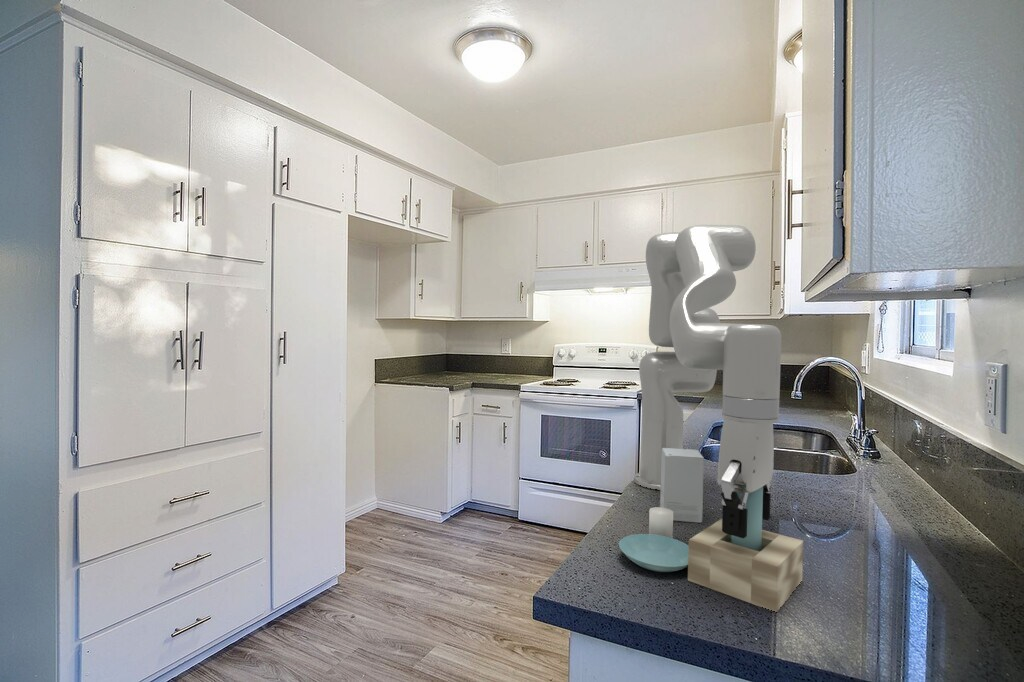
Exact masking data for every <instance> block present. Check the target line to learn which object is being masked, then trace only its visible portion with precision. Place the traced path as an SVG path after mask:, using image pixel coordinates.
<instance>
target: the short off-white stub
mask: <svg viewBox="0 0 1024 682" xmlns="http://www.w3.org/2000/svg"><path fill="white" fill-rule="evenodd" d="M648 513H649V517H648V522H649V523H648V534H654V535H660V536H666V537H669V538H673V539H674V537H673V536H674V535H673V533H674V520H673V511H672V510H670V509H667V508H662V507H660V506H659V507H658V506H655V507H651V508H649V512H648Z"/></svg>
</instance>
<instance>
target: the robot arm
mask: <svg viewBox="0 0 1024 682" xmlns="http://www.w3.org/2000/svg"><path fill="white" fill-rule="evenodd" d="M754 237H755V236H754V235H753V234H752V232H751V231H750V230H749V229H748V228H747V227H745V226H743V225H736V224H735V225H734V224H732V225H731V224H697V225H696V224H695V225H690V226H687V227H686V228H684V229H683V230H682V231H680V232H662V233H657V234H654V235H653V236H652V237H650V239H648V241H647V244H646V248H645V265H646V269H647V273H648V276H649V280H650V285H651V289H650V290H651V294H650V307H649V319H648V337H649V340H650V342H651V343H652V344H653V345H655V346H656V347H657V346H658V347H661V348H673V350H674V351H652V352H649V353H646V354H645V355H643V356H642V358H641V359H640V362H639V366H638V370H639V381H640V387H641V402H642V404H641V445H640V446H641V447H640V449H641V452H640V472H637V473H636V474H634V476H633V481H634V483H635V484H637V485H638V486H640V485H641V486H640V487H643V488H646V487H647V488H646V489H650V488H651V489H650V490H655V489H657V490H656V491H661V455H662V448H675V449H684V446H683V445H684V444H683V442H684V410H683V408H682V406H681V403H680V402H679V401H678V400H677V399H676V397H675V396H674V394H673V393H707V392H709V391H711V390H712V389H713V387H714V385H715V382H716V379H717V371H722V372H723V373H722V405H721V406H722V407H721V418H723V419H724V420H723V423H722V428H721V435H720V440H719V442H720V443H719V452H718V453H719V454H718V463H717V464H718V466H717V480H716V481H717V484H718V486H719V487H721V493H720V494H721V497H722V499H721V505H722V516H721V517H722V518H721V519H722V531H723V532H724V533H726V534H729V535H733V536H736V537H740V538H745V537H746V536H747V513H748V509H745V505H746V501H747V497H748V494H749V493H751V492H754V491H756V490H758V489H759V488H761V487H763V509H762V521H763V520H764V521H768V520H770V518H771V490H772V484H771V481H772V479H773V475H774V465H775V464H774V462H775V459H774V458H775V450H774V448H775V447H774V445H775V443H774V441H775V440H774V439H775V438H774V424H777V423H779V421H780V394H781V393H780V392H781V389H780V388H781V359H782V355H781V354H782V353H781V352H782V333H781V330H780V329H779V328H778V327H777V326H775V325H773V324H772V325H771V324H763V323H762V324H760V323H755V324H754V323H729V322H727V323H726V322H723V323H722V322H721V321H720V320H721V319H720V317H719V315H718V313H717V312H716V311H715V310H714V309H712V307H714V306H717V305H719V304H721V303H723V302H724V301H726V300H727V299H728V298H730V296H731V295H732V294H733V293H734V291H735V289H736V286H737V278H736V275H735V273H734V272H739V271H742V270H745V269H747V268H748V267H750V266H751V264H752V263H753V261H754V259H755V255H756V250H757V247H756V240H755V238H754ZM640 474H641V475H640ZM639 475H640V476H639ZM634 479H635V480H634ZM736 484H740V485H736ZM741 485H744V486H741ZM734 491H735V492H734ZM737 492H740V493H741V496H740V499H739V496H738V494H737Z"/></svg>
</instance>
